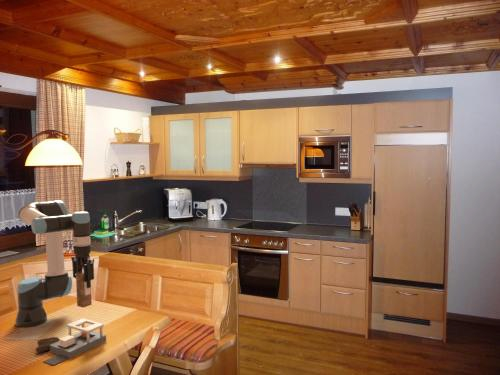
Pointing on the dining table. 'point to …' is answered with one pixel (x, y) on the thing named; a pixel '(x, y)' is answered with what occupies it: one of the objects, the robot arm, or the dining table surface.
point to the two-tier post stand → (80, 339)
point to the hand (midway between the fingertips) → (84, 293)
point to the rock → (46, 344)
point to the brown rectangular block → (82, 291)
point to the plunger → (84, 332)
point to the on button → (67, 341)
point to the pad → (55, 360)
